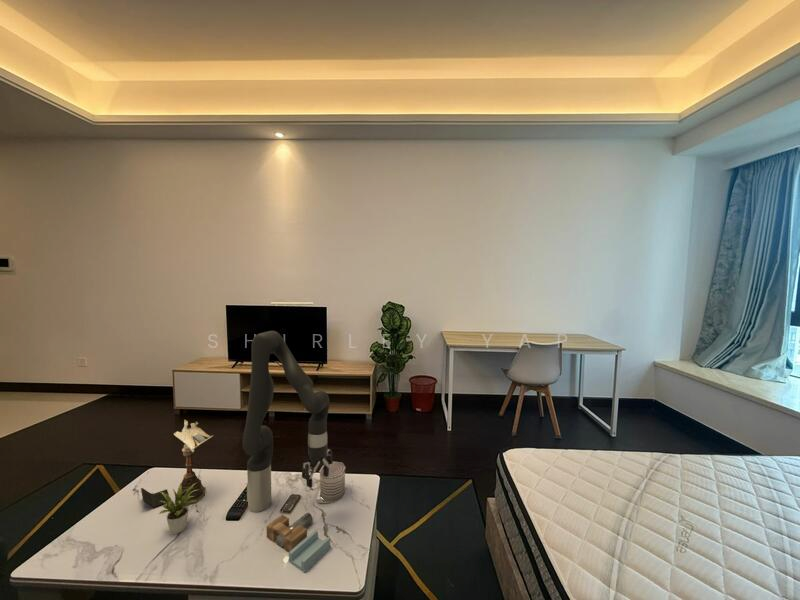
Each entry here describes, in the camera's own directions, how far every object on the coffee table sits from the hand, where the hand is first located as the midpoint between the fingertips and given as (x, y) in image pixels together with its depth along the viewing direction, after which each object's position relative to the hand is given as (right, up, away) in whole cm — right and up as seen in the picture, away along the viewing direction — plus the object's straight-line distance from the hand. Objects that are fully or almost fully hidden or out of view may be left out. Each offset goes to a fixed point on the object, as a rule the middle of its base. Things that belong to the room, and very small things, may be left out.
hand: (317, 481), depth 132 cm
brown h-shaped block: (-9, -16, -11) cm, 21 cm away
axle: (-7, -14, -8) cm, 17 cm away
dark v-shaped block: (-73, -15, +10) cm, 75 cm away
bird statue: (-57, -14, +13) cm, 60 cm away
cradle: (+2, -16, -18) cm, 24 cm away
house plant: (-51, -15, -6) cm, 54 cm away
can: (+3, -14, +15) cm, 21 cm away
